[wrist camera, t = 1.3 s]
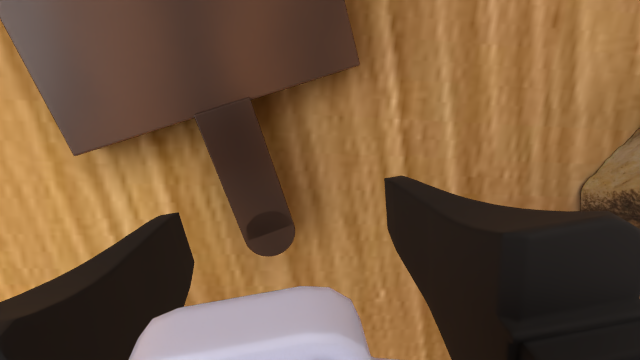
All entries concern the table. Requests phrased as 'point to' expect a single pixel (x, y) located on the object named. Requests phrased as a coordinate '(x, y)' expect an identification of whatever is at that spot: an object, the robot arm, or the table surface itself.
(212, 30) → the walnut board
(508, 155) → the table surface
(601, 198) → the rock
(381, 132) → the table surface
